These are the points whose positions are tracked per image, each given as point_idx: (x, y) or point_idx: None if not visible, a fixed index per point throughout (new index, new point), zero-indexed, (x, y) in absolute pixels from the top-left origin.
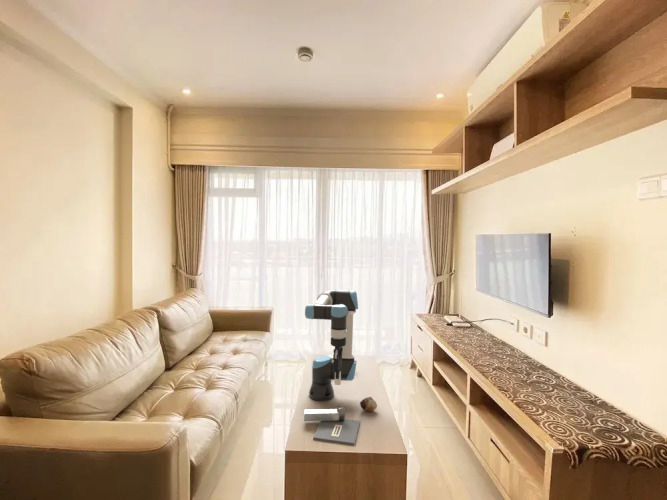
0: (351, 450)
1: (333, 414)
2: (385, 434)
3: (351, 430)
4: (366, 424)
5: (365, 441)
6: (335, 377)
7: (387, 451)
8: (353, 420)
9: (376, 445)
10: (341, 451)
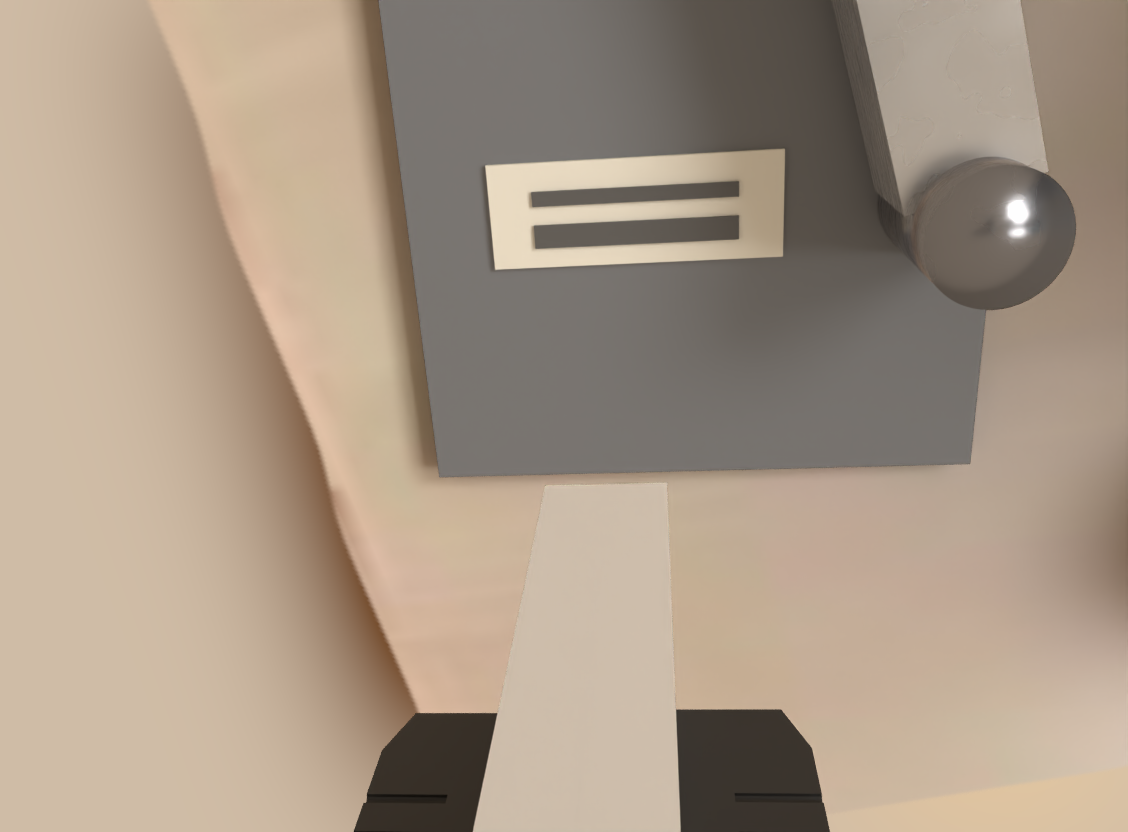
0: (342, 450)
1: (877, 112)
2: None
3: (696, 397)
4: (928, 532)
5: None
6: (510, 705)
7: None
8: (961, 378)
9: None
10: (280, 350)
